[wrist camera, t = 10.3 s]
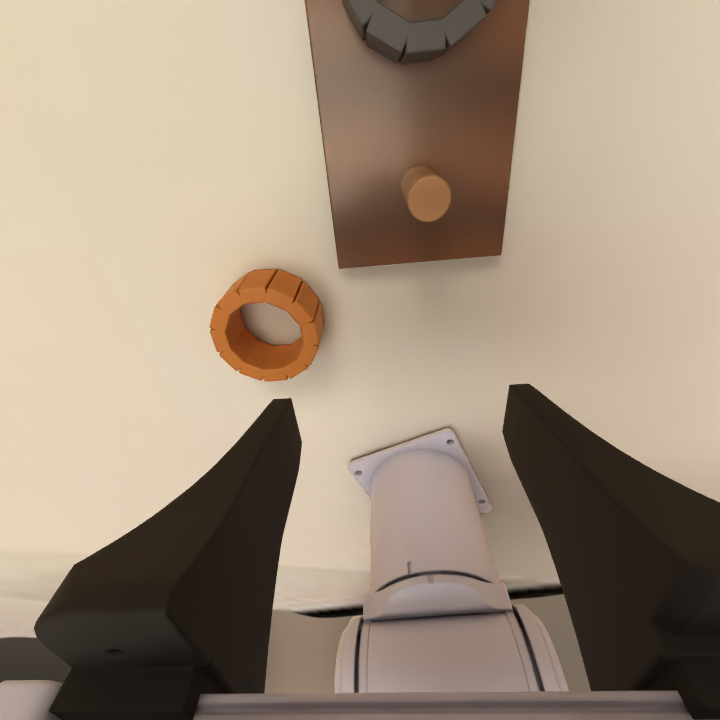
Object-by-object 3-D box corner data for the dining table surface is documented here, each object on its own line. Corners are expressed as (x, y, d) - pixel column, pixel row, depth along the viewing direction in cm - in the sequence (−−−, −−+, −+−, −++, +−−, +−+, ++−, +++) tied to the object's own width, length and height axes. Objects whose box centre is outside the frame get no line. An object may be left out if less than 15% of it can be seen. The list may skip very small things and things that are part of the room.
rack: (496, 250, 19) (528, 282, 15) (339, 263, 19) (332, 297, 16) (544, -208, 11) (629, -368, 8) (286, -166, 12) (248, -295, 8)
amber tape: (315, 264, 19) (308, 283, 17) (329, 352, 22) (324, 378, 20) (214, 273, 20) (195, 292, 18) (241, 359, 23) (227, 384, 20)
